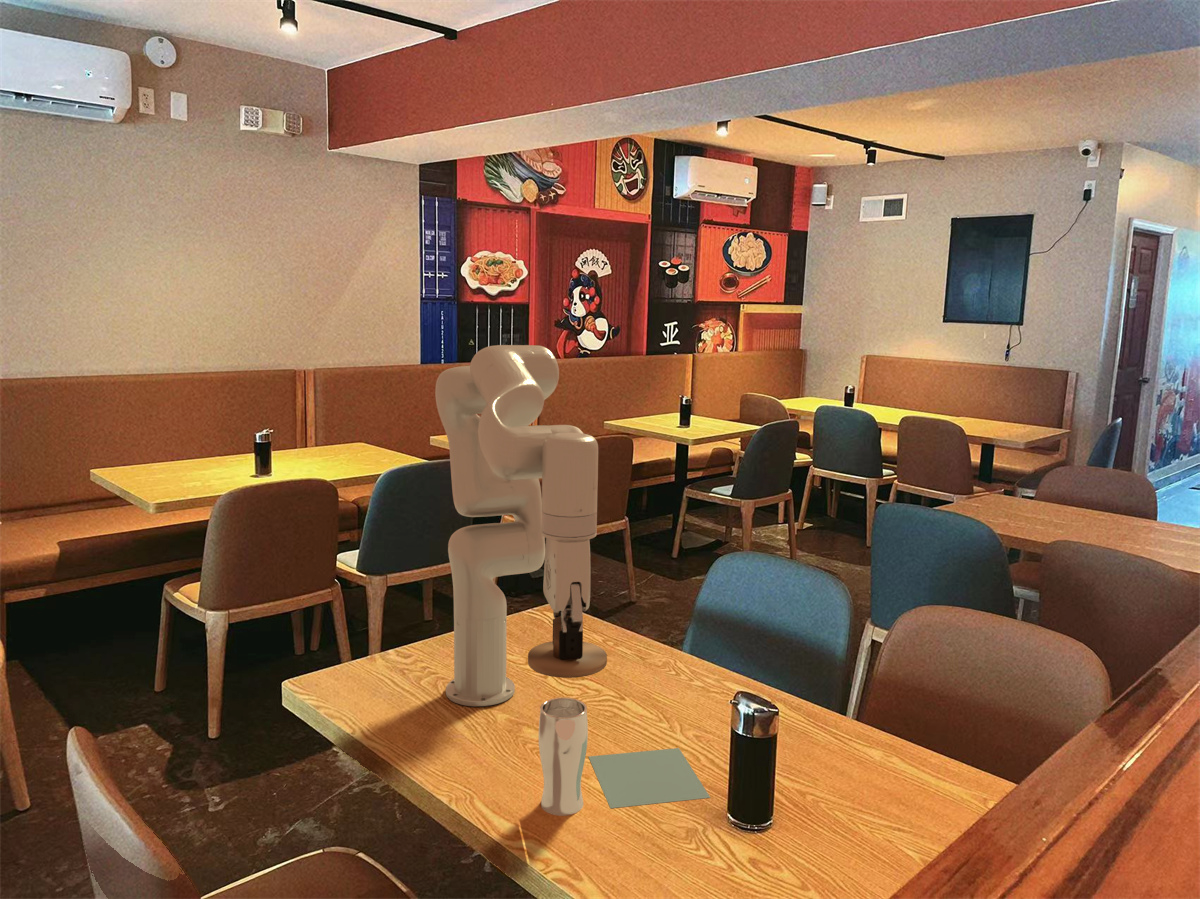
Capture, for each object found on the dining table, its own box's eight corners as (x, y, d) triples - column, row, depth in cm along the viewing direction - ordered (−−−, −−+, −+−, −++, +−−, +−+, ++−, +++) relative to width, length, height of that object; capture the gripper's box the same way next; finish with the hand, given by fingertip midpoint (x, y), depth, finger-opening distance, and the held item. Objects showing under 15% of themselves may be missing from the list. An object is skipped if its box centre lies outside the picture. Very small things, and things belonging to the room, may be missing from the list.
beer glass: (580, 822, 123) (582, 721, 121) (532, 816, 125) (532, 715, 122) (591, 796, 130) (593, 699, 128) (544, 790, 131) (546, 694, 129)
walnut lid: (522, 649, 128) (522, 609, 127) (596, 644, 131) (597, 605, 130) (535, 680, 117) (535, 637, 117) (615, 674, 120) (616, 631, 119)
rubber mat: (588, 758, 141) (588, 756, 141) (678, 750, 144) (678, 747, 144) (610, 810, 126) (610, 808, 126) (710, 800, 130) (710, 797, 130)
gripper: (532, 511, 128) (531, 632, 131) (553, 541, 112) (551, 678, 115) (583, 509, 130) (580, 629, 133) (610, 538, 114) (607, 674, 117)
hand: (567, 650), depth 124 cm, fingers closed on walnut lid, 4 cm apart
